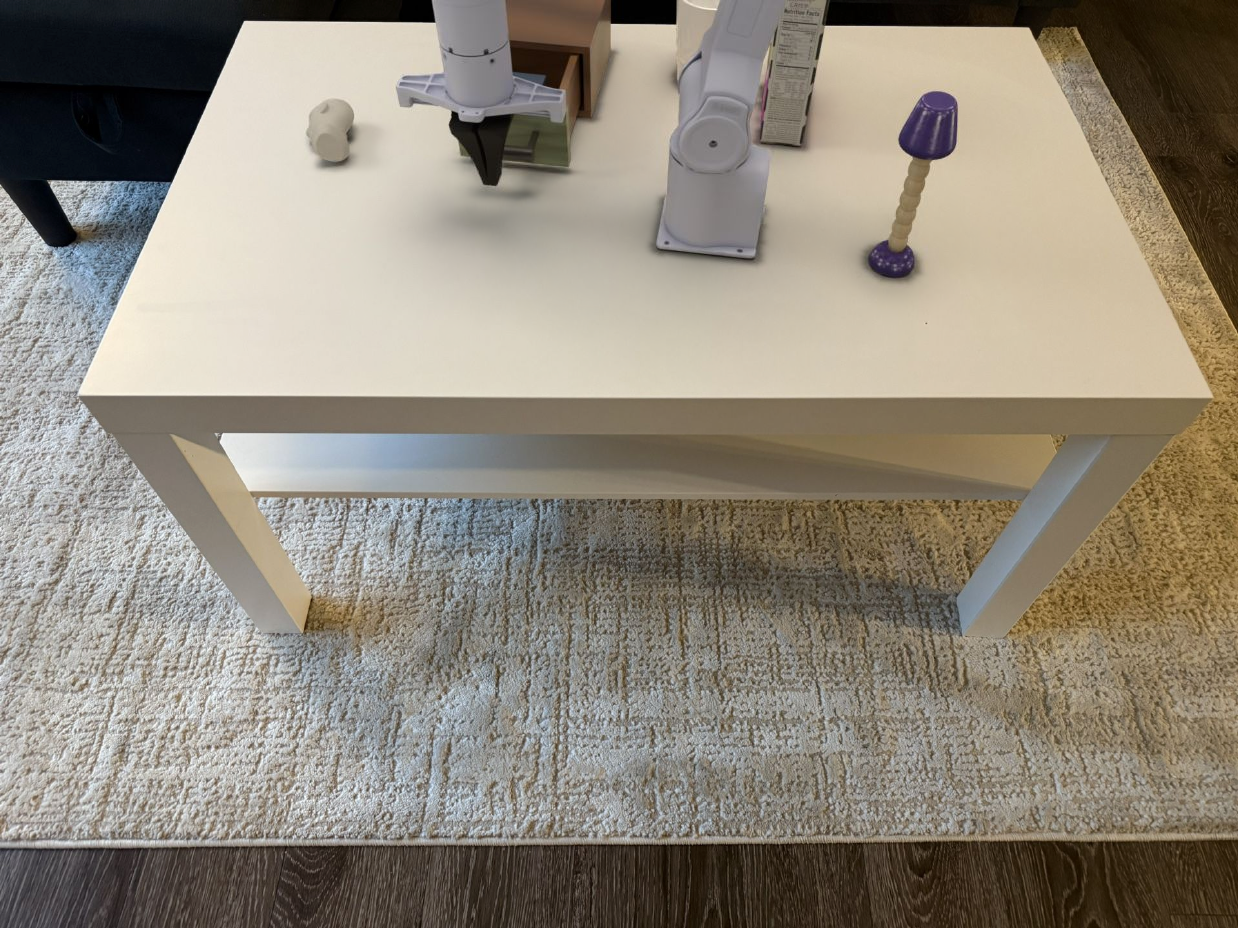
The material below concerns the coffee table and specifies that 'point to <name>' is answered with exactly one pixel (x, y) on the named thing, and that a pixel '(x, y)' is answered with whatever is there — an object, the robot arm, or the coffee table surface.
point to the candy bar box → (792, 71)
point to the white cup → (692, 27)
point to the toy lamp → (917, 175)
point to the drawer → (537, 133)
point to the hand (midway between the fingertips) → (492, 179)
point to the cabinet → (566, 36)
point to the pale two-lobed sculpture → (330, 129)
